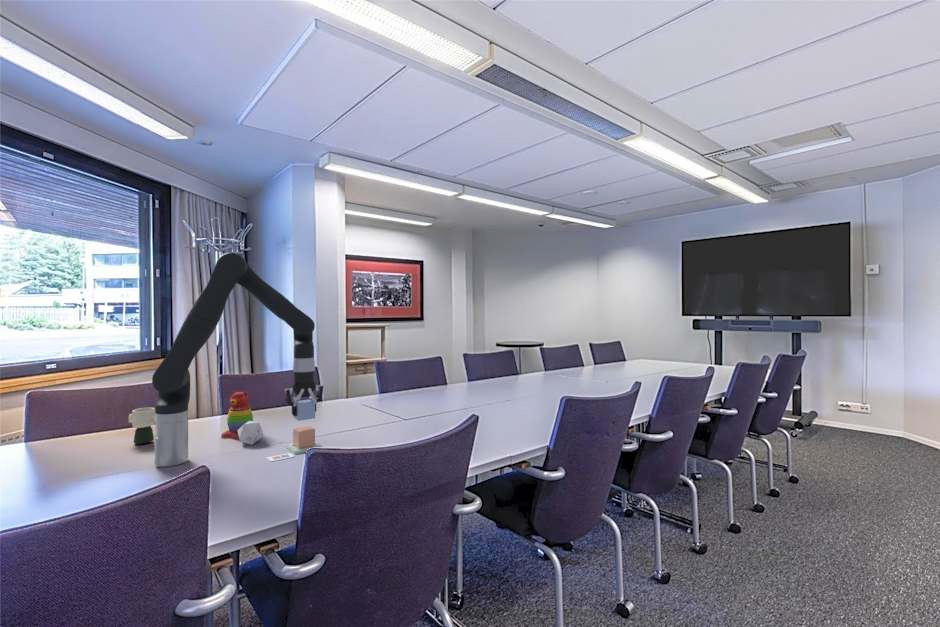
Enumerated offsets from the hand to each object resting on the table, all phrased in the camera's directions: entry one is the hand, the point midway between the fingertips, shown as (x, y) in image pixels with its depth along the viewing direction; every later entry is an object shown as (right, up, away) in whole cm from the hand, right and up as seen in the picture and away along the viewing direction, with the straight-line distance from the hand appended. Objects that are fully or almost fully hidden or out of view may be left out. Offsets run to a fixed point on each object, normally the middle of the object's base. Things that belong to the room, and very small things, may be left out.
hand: (304, 414), depth 166 cm
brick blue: (0, -1, 0) cm, 1 cm away
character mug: (-64, -12, +5) cm, 65 cm away
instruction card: (-4, -13, -10) cm, 17 cm away
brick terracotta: (0, -11, 0) cm, 11 cm away
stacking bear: (-33, -12, +16) cm, 39 cm away
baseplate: (0, -12, 0) cm, 12 cm away
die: (-23, -13, +6) cm, 27 cm away
